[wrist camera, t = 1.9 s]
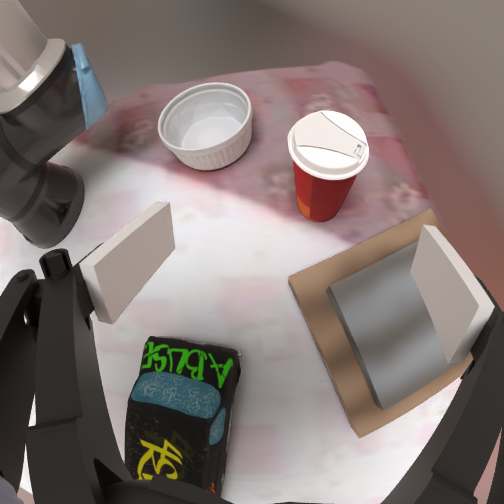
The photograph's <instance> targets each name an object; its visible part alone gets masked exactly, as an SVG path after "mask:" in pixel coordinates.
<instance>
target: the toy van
mask: <svg viewBox="0 0 504 504" xmlns="http://www.w3.org/2000/svg"><path fill="white" fill-rule="evenodd" d="M222 349H223V350H222ZM227 350H230V351H227ZM232 351H234V352H232ZM238 356H239V357H241V352H240V350H239V349H237V348H235V347H229V346H223V345H218V344H212V343H204V344H202V343H197V342H191V341H189V340H187V339H184V338H177V337H165V336H158V337H154V336H151V337H149V338H148V340H147V342H146V343H145V346H144V351H143V356H142V361H141V367H140V372H139V377H138V379H137V380H136V382H135V384H134V386H133V389H132V391H131V394H130V397H129V400H128V407H127V415H126V423H125V466H126V467H127V469H128V471H129V472H130V474H131V476H132V478H133V480H137V479H149V480H151V479H152V477H153V475H154V473H157V474H160V475H162V476H165V477H169V478H172V479H175V480H178V481H181V482H185V483H188V484H192V485H195V486H197V487H199V488H201V489H203V490H205V491H207V492H209V493H211V494H213V495H215V496H218V497H220V496H221V490H222V484H223V482H224V474H225V466H226V457H227V450H228V443H229V436H230V429H231V420H232V409H233V398H234V393H235V388H236V386H237V383H238V381H239V376H240V373H241V368H240V363H239V359H238Z"/></svg>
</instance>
